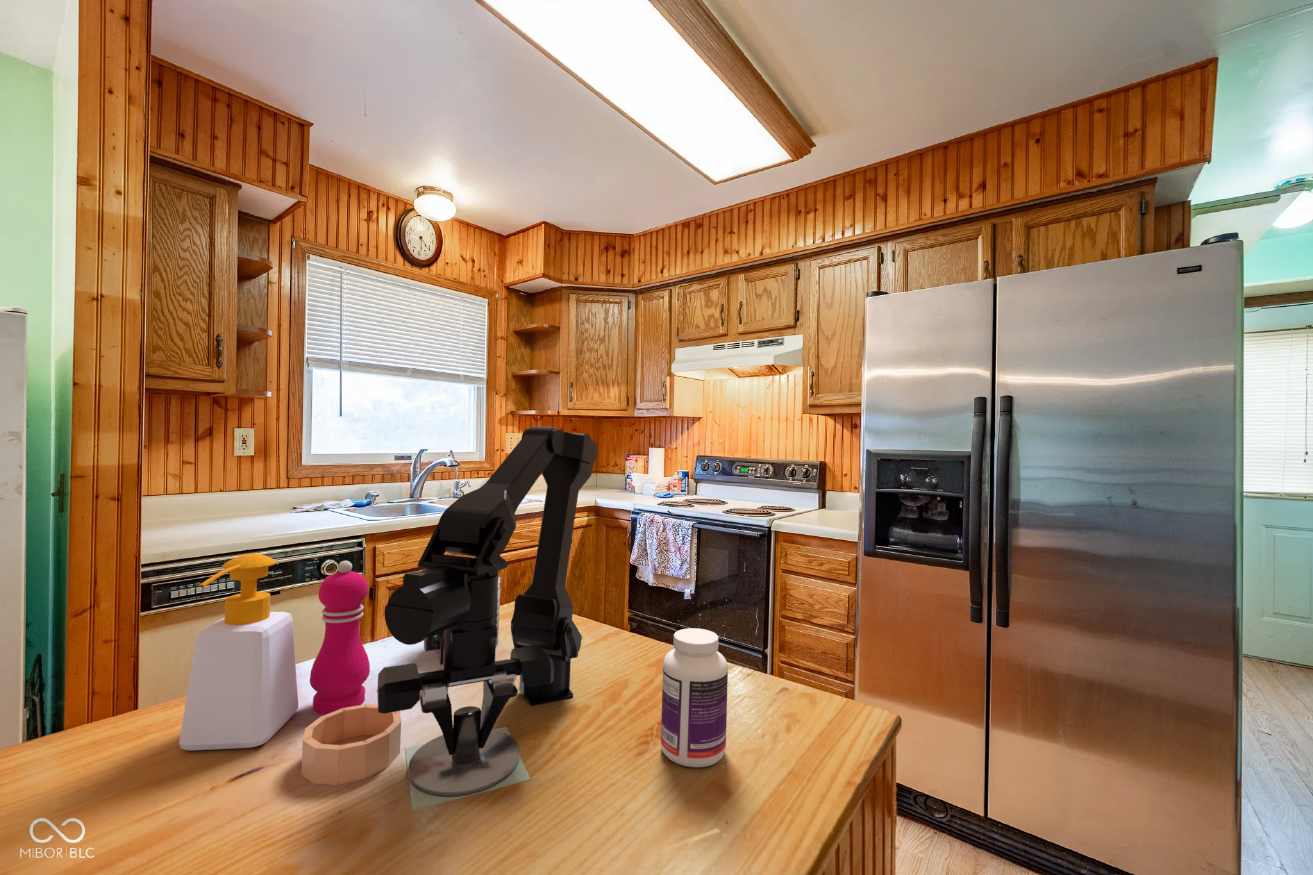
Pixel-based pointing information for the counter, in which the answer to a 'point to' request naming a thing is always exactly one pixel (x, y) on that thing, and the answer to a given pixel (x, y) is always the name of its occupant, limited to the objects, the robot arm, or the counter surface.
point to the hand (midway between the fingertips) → (466, 749)
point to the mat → (426, 800)
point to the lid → (463, 759)
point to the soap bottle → (241, 668)
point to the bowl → (350, 744)
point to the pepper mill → (341, 643)
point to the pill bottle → (694, 699)
